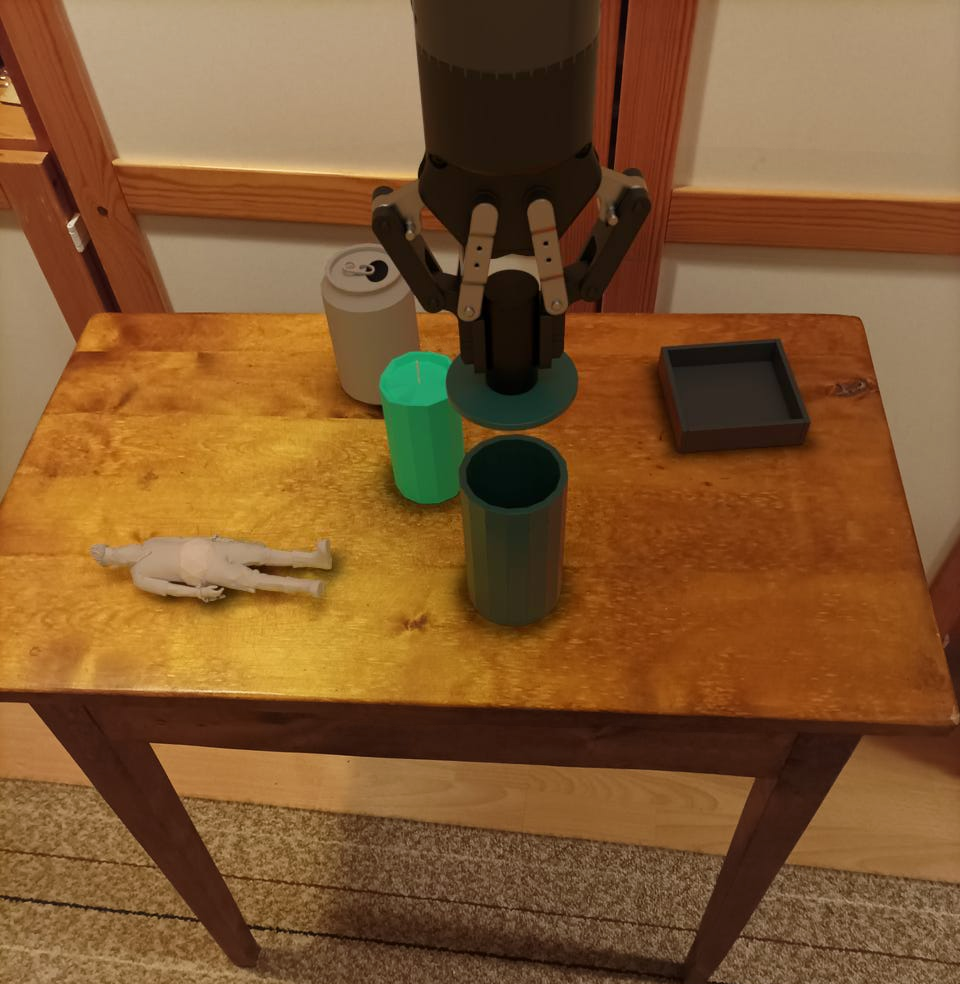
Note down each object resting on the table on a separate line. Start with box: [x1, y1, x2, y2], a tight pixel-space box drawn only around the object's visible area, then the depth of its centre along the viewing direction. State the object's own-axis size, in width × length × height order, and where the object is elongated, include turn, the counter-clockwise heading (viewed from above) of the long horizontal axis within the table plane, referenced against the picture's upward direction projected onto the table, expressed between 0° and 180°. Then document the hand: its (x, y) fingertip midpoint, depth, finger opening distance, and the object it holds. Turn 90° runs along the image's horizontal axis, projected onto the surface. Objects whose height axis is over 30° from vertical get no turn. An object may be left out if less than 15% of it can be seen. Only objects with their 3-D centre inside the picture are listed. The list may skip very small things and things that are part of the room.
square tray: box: [657, 337, 812, 454], centre depth 78 cm, size 10×10×2 cm
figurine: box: [88, 534, 333, 603], centre depth 69 cm, size 7×4×18 cm
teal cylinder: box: [459, 433, 569, 627], centre depth 64 cm, size 7×7×12 cm
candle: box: [379, 351, 466, 505], centre depth 70 cm, size 6×6×12 cm
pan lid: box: [446, 268, 579, 432], centre depth 50 cm, size 8×8×7 cm
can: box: [320, 242, 422, 406], centre depth 77 cm, size 8×8×12 cm
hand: (512, 360), depth 51 cm, fingers closed on pan lid, 3 cm apart
